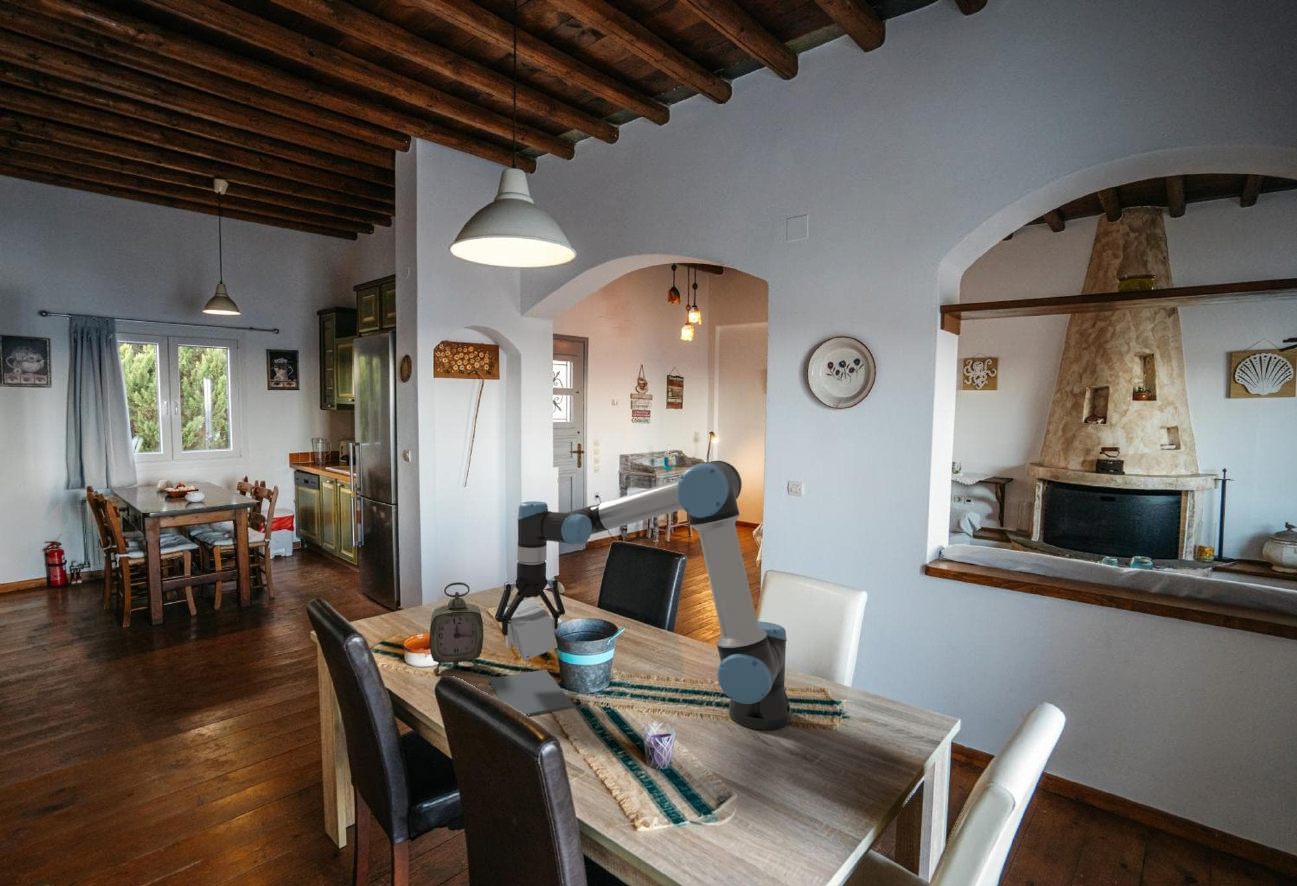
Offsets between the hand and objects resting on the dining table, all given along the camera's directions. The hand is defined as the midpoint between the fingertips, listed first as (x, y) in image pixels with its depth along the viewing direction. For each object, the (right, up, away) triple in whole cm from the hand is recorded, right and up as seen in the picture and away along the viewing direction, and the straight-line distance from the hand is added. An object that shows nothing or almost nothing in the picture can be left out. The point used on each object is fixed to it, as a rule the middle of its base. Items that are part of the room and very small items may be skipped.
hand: (529, 644), depth 166 cm
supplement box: (-4, +5, +8) cm, 10 cm away
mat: (0, -13, +1) cm, 13 cm away
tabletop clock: (-24, -12, +16) cm, 31 cm away
